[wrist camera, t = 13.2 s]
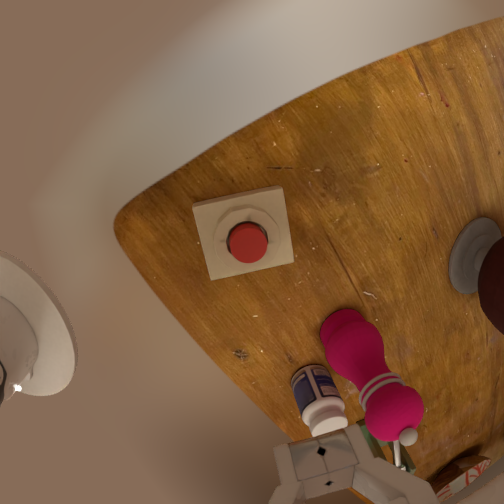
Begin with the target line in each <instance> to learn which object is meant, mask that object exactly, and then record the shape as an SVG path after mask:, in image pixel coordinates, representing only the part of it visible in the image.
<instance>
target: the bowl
mask: <svg viewBox="0 0 504 504" xmlns="http://www.w3.org/2000/svg"><path fill="white" fill-rule="evenodd" d="M490 463H491V459H490V458H488V457H485V456H478V455H473V456H468V457H463V458H460V459H458V460H456V461H454V462H453V463H451V464H450V465H448V466H447V467H446V468H445V469H443V470H442V471H441V472H440V473H439V475H438V476H437V478H436V480H435V481H434V483H433V484H432V489H433V491H434V493H435V495H436V497H437V498H438V500H439V502H442V501H444V500H446V499H448V498H450V497H451V496H453V495H455V494H456V493H458V492H460V491H461V490H463V489H464V488H465V487H466V486H468V485H469V484H471V483H472V482H473V481H474V480H475V479H477V478H478V477H479V476H480V475H481V474H482V473H483V472H484V471H485V470H486V469H487V467H488V466H489V465H490Z"/></svg>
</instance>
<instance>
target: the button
mask: <svg viewBox="0 0 504 504" xmlns="http://www.w3.org/2000/svg"><path fill="white" fill-rule="evenodd" d="M229 243H230V249H231V253H232V255H233V256H234V257H235V258H236V259H237V260H238V261H240V262H243V263H254V262H256V261H258V260H260V259H261V258H262V257H263V256H264V255H265V253H266V251H267V239H266V237H265V235H264V233H263V231H262V230H261V229H260V228H259V227H258V226H257V225H255V224H251V223H244V224H241V225H238V226H237V227H236V228H234V229H233V231H232V232H231V234H230V238H229Z"/></svg>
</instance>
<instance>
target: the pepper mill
mask: <svg viewBox="0 0 504 504" xmlns="http://www.w3.org/2000/svg"><path fill="white" fill-rule="evenodd" d="M320 338H321V341H322V343H323V345H324V347H325V355H326V359H327V361H328V363H329V364H330V366H331V367H332V369H333V370H334V371H336V372H337V373H338V374H339V375H341V376H343V377H344V378H346V379H348V380H350V381H351V382H353V383H354V384H355V385H356V386H357V388H358V390H359V391H360V395H359V402H360V404H361V405H362V408H363V410H364V411H365V412H366V413H365V423H366V427H367V429H368V430H369V432H370V433H371V434H372V435H373V436H374V437H375V438H377V439H379V440H381V441H390V442H391V441H396V440H399V441H400V443H401V444H402V445H404V446H410V445H412V444H414V443H415V442H416V440H417V437H418V434H417V431H416V430H415V429H416V427H417V426H418V425H419V423H420V422H421V419H422V417H423V413H424V405H423V401H422V398H421V397H420V395H419V394H418V392H417V391H416V390H415V389H413V388H411V387H409V386H406V385H405V382H404V381H403V380H402V379H401V377H400V376H399V375H398V374H397V373H393V372H391V371H390V370H389V369H388V367H387V365H386V363H385V358H384V344H383V341H382V337H381V335H380V333H379V332H378V330H377V328H376V327H375V326H374V325H373V324H371V323H369V322H366V321H365V319H364V318H363V317H362V315H361V314H360V313H359V312H357V311H355V310H352V309H343V310H339V311H337V312H335V313H333V314H332V315H330V316H329V317H328V318H327V319H326V320H325V322H324V323H323V325H322V327H321V330H320Z"/></svg>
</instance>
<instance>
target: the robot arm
mask: <svg viewBox="0 0 504 504" xmlns="http://www.w3.org/2000/svg"><path fill="white" fill-rule="evenodd" d="M37 357H38V344H37V340H36V337H35V334H34V332H33V330H32V328H31V326H30V324H29V323H28V321H27V320H26V318H25V317H24V316H23V314H22V313H21V312H20V311H19V310H18V309H17V308H16V307H15V306H14V305H13V304H12V303H11V302H9V301H8V300H7V299H5V298H3V297H2V296H0V406H1V403H2V401H3V400H9V399H10V398H11V396H12V395H13V393H14V392H15V391H16V390H17V391H20V390H21V387H19V386H20V384H21V383H22V382H23V380H26V381H29V380H30V379H31V378H32V376H33V365H34V363H35V362H36V360H37ZM288 445H289V446H288ZM274 454H275V459H276V464H277V468H278V472H279V478H280V482H281V485H280V486H277V487H276V489H275V491H274V493H273V495H272V497H271V499H270V501H269V503H268V504H305V503H306V499H310V498H314V497H317V496H320V495H324V494H327V493H331V492H334V491H338V490H342V489H345V488H348V487H352V488H354V489H355V490H357V491H358V492H359V493H361V494H362V495H364V496H365V497H367V498H368V499H369V500H371V501H372V502H374V503H375V504H440V502H439V500H438V498H437V497H436V495H435V493H434V491H433V489H432V487H431V485H430V484H429V482H427V481H425V480H422V479H420V478H418V477H416V476H414V475H412V474H410V473H408V472H406V471H404V470H402V469H400V468H398V467H397V466H395V465H393V464H391V463H389V462H387V461H385V460H383V459H381V458H380V457H376V458H374V456H373V454H372V452H371V450H370V448H369V445H368V443H367V441H366V439H365V437H364V435H363V433H362V431H361V429H360V427H359V425H358V424H353V425H350V426H347V427H344V428H340V429H337V430H334V431H331V432H328V433H325V434H321V435H318V436H315V437H311V438H308V439H304V440H300V441H296V442H292V443H286V444H282V445H278V446H274ZM455 504H504V472H502V473H501V474H500V475H498V476H497V477H495V478H494V479H493V480H491V481H490V482H488V483H487V484H485V485H484V486H482V487H481V488H479V489H478V490H476V491H475V492H473V493H472V494H470V495H468V496H467V497H465V498H464V499H462V500H460V501H459V502H457V503H455Z"/></svg>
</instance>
